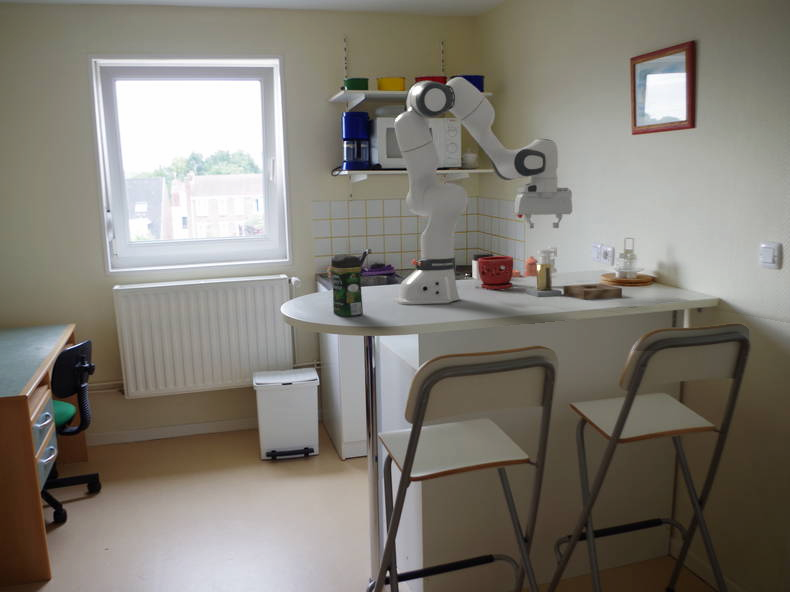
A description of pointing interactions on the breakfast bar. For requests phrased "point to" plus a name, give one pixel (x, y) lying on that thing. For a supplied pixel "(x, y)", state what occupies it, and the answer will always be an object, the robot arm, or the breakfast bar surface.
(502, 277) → the plant pot
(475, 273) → the jar
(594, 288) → the eye block
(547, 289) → the brass peg
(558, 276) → the breakfast bar surface
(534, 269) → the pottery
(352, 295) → the coffee jar
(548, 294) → the slate coaster
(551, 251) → the grey tall piece
